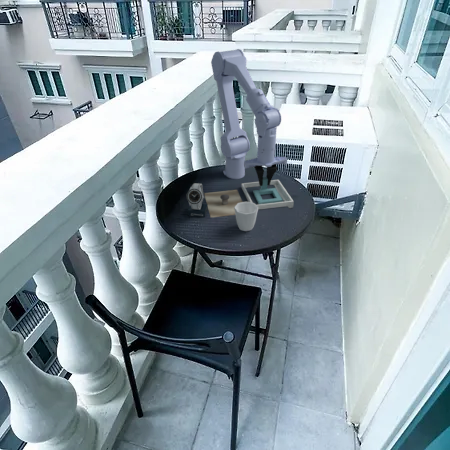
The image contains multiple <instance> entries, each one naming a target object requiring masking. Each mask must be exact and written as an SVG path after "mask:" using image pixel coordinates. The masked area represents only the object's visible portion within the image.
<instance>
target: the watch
mask: <svg viewBox="0 0 450 450" xmlns="http://www.w3.org/2000/svg"><path fill="white" fill-rule="evenodd" d="M203 188H204V187H203V184H202V183H193V184H192V185H191V186H190V188H189V190H188V191H187V193H186V200H187V201H188V204H189V207H188V209H187V216H190V217H199V218H200V217H201V218H206V215H207V213H208V212H209V210H208V204H207V203H203V201H204V199H205V195H204V190H203Z"/></svg>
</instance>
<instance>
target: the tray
mask: <svg viewBox="0 0 450 450" xmlns="http://www.w3.org/2000/svg"><path fill="white" fill-rule="evenodd" d="M272 185H273V186H274V188H276V190H277V191H278V193H279V195H280V196H281V198H282V200H283V201H282V202H276V203H267V204H258V203H257V204H256V206H257V207H258V211H259V210H265V209H273V208H276V209H277V208H283V207H284V208H285V207H288V209H293V208H294V205H295V204H294V200H293V197H291V195H290V194H289V193H288V191H287V189H286V188H285V187H284V185H283V184H282V182H281V181H280V179H273V180H272V179H271V182H270V185H269V186H272ZM255 187H260V185H259V181H253V182H252V181H251V182H244V183H241V189H242V191H243V193H244V196H245V198H246V200H247V202H251V203H254V202H253V200H252V199H251V196H250V194H249V192H248V190H247V188H255Z"/></svg>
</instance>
